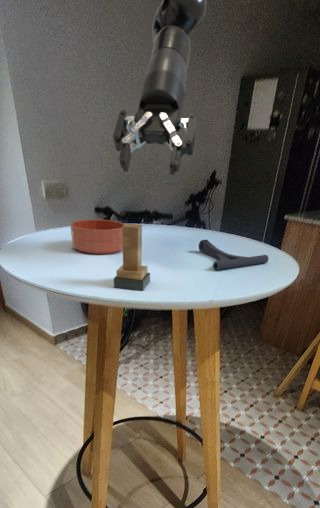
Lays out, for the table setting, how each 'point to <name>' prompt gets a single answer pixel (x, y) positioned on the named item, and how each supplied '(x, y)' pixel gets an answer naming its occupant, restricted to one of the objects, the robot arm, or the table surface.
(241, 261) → the dark branching pipe
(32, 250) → the table surface
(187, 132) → the robot arm
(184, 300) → the table surface
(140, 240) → the wooden block on stand
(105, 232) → the bowl
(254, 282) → the table surface
